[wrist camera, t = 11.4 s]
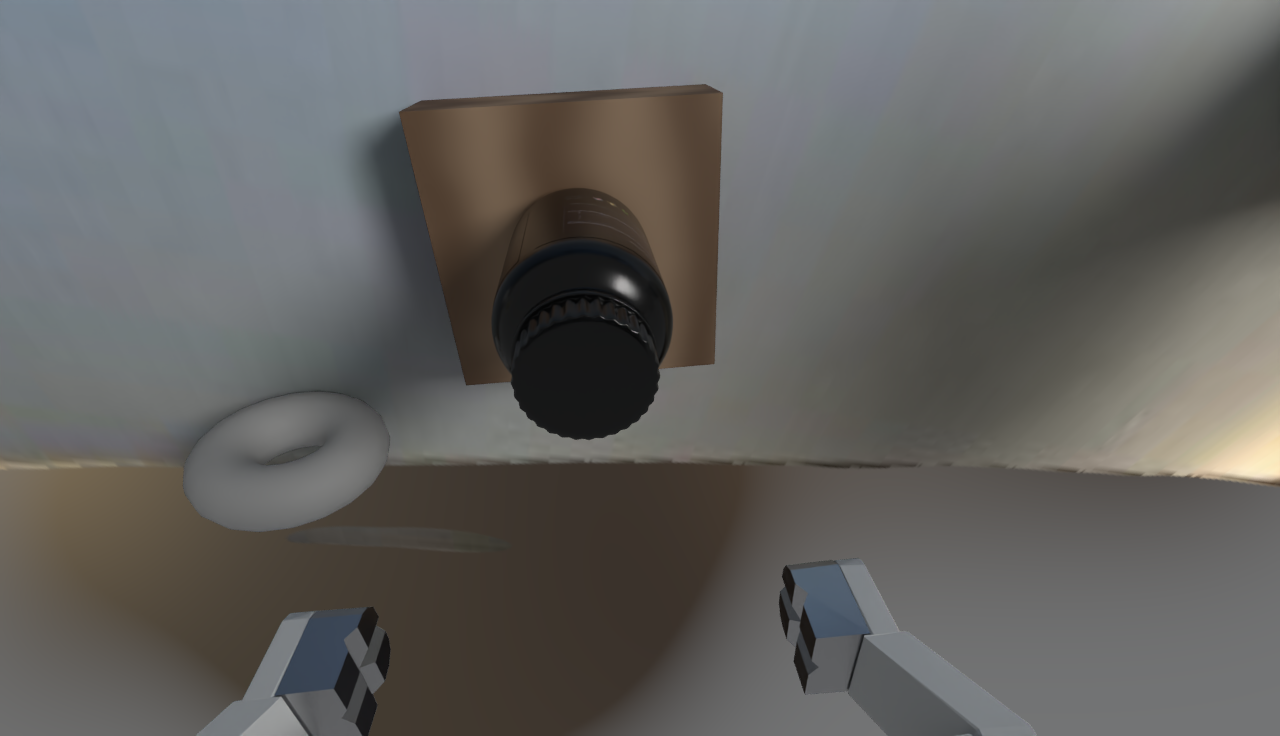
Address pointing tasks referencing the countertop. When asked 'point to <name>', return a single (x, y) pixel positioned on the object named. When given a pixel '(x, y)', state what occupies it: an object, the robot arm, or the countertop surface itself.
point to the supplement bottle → (581, 315)
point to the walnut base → (560, 159)
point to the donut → (294, 491)
